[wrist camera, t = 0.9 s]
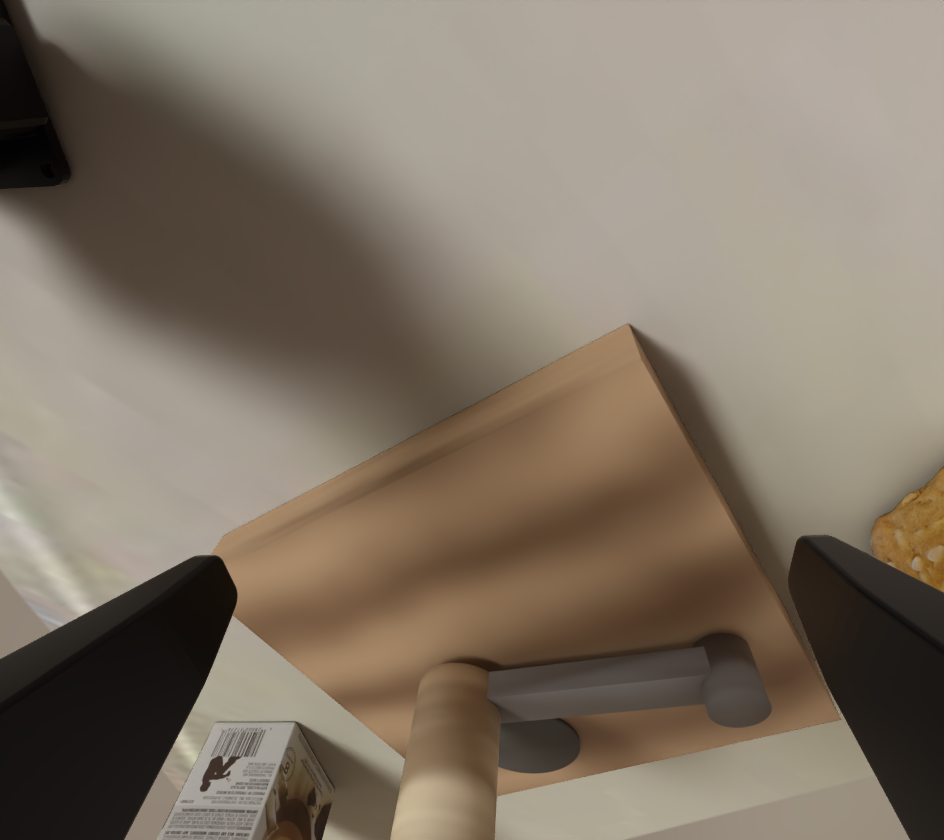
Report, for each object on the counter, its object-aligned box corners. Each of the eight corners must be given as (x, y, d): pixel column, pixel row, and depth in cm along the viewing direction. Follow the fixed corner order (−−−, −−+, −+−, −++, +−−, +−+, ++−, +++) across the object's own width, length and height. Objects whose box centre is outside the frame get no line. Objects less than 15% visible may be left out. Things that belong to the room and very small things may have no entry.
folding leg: (408, 660, 27) (348, 944, 18) (745, 617, 23) (872, 947, 15) (437, 709, 29) (395, 987, 20) (753, 675, 25) (868, 999, 17)
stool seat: (223, 536, 29) (189, 586, 26) (628, 323, 21) (642, 363, 18) (465, 754, 37) (459, 809, 34) (814, 663, 29) (843, 725, 27)
